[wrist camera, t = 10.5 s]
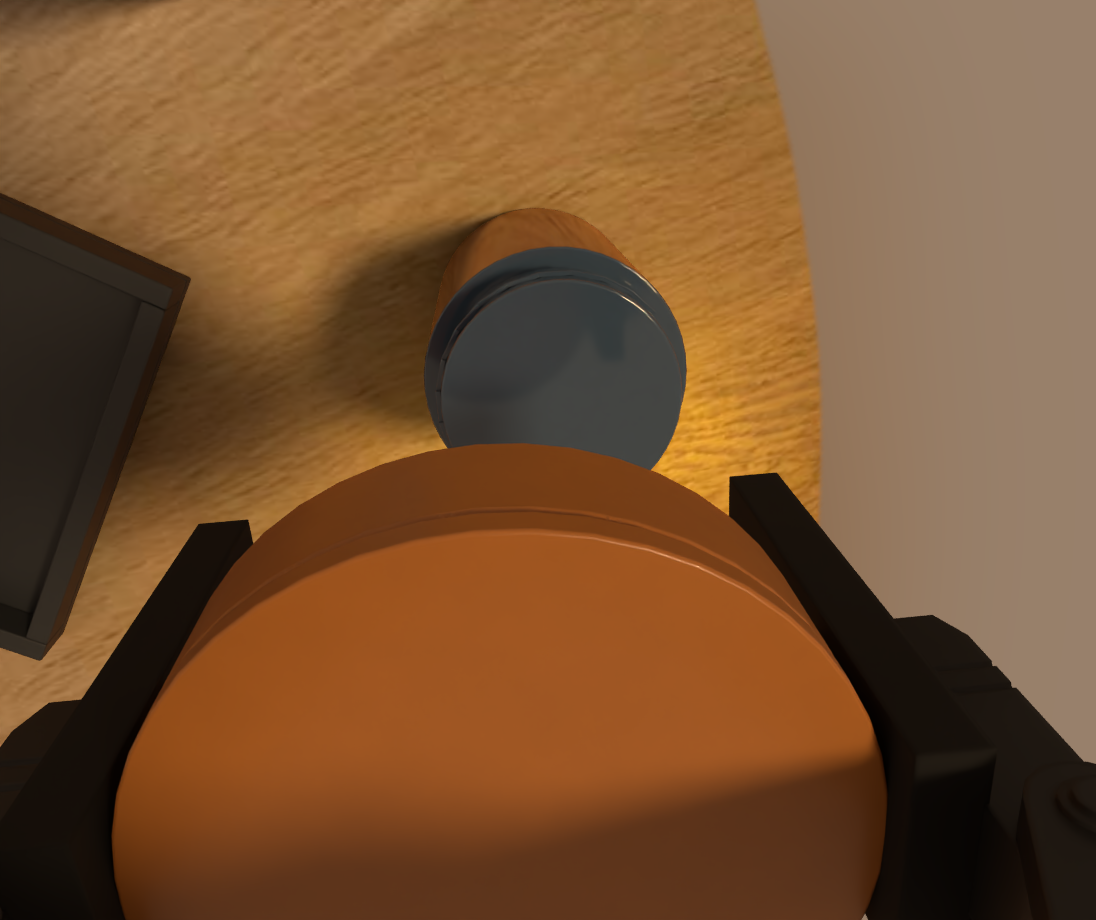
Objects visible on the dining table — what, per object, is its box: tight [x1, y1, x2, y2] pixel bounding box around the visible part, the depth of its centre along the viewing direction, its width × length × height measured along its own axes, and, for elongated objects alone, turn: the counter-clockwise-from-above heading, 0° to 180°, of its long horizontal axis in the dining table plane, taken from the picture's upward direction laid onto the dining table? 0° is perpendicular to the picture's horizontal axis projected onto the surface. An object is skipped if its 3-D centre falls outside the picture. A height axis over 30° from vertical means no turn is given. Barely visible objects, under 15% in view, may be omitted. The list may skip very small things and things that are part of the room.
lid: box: [111, 443, 888, 920], centre depth 10 cm, size 8×8×2 cm
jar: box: [424, 208, 687, 470], centre depth 27 cm, size 7×7×11 cm
